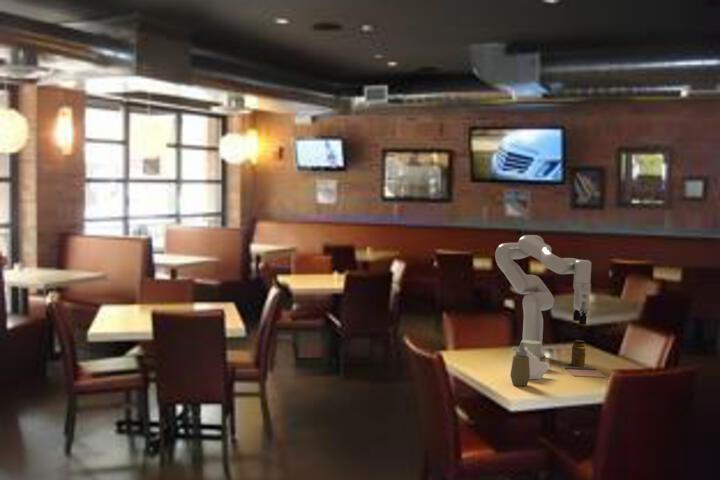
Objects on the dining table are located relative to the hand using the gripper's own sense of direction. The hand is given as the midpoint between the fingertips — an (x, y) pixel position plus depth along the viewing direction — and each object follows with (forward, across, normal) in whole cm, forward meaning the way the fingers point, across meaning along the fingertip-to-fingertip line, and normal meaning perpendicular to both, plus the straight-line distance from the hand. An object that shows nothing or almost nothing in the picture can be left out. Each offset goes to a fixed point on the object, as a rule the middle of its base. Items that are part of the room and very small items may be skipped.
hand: (579, 322), depth 366 cm
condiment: (+21, 0, 0) cm, 21 cm away
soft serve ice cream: (+21, -27, +30) cm, 45 cm away
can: (+21, -5, +23) cm, 32 cm away
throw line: (+20, -8, 0) cm, 22 cm away
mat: (+20, -16, 0) cm, 26 cm away
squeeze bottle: (+21, -42, +36) cm, 59 cm away
